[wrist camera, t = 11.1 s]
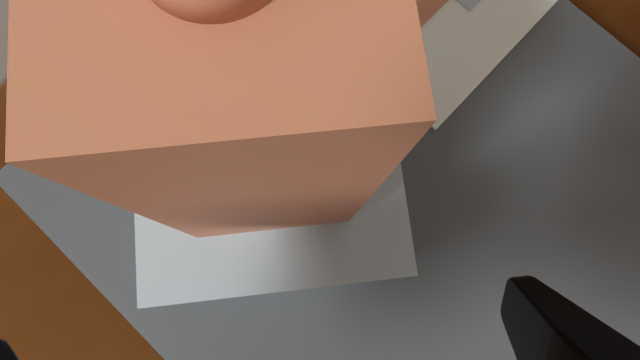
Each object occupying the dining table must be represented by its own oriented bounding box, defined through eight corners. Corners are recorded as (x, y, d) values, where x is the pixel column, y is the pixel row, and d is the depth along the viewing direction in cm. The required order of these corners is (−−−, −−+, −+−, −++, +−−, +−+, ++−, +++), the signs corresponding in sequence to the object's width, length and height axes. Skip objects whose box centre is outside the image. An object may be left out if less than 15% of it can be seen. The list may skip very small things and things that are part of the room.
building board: (755, 204, 23) (816, 194, 20) (447, 627, 19) (472, 687, 16) (369, -114, 26) (378, -160, 23) (26, 188, 22) (-13, 175, 19)
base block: (393, 276, 19) (418, 275, 15) (171, 302, 18) (137, 308, 14) (364, 73, 21) (379, 26, 17) (162, 91, 20) (129, 46, 16)
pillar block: (349, 221, 15) (459, 94, 5) (197, 237, 15) (-47, 141, 4) (331, 81, 16) (389, -280, 6) (189, 94, 16) (-28, -264, 5)
